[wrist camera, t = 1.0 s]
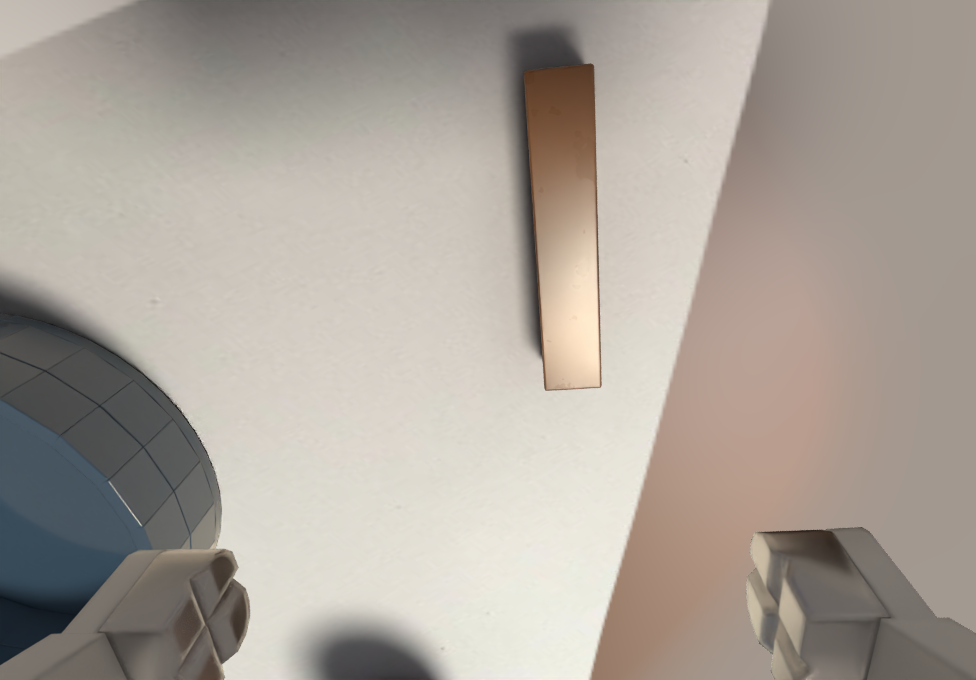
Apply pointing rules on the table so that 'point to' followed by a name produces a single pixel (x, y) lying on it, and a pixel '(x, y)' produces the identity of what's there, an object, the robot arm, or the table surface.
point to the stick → (565, 222)
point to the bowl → (86, 476)
